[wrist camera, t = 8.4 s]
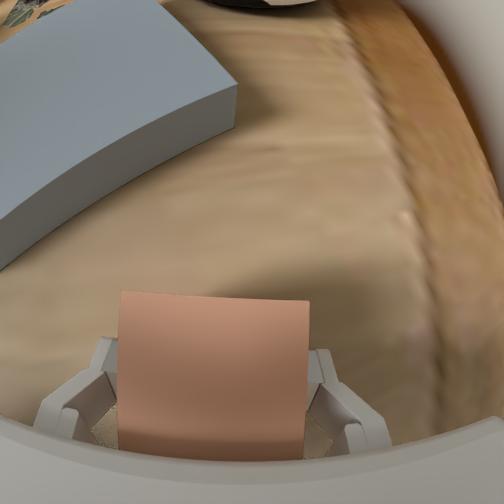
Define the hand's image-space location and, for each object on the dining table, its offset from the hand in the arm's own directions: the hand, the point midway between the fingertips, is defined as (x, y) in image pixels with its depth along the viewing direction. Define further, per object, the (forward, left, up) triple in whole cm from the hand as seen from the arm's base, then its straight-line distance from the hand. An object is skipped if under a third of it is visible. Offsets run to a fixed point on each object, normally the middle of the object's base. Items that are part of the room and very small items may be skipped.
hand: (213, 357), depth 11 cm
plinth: (-1, +19, -4) cm, 20 cm away
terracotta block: (0, -1, -4) cm, 4 cm away
